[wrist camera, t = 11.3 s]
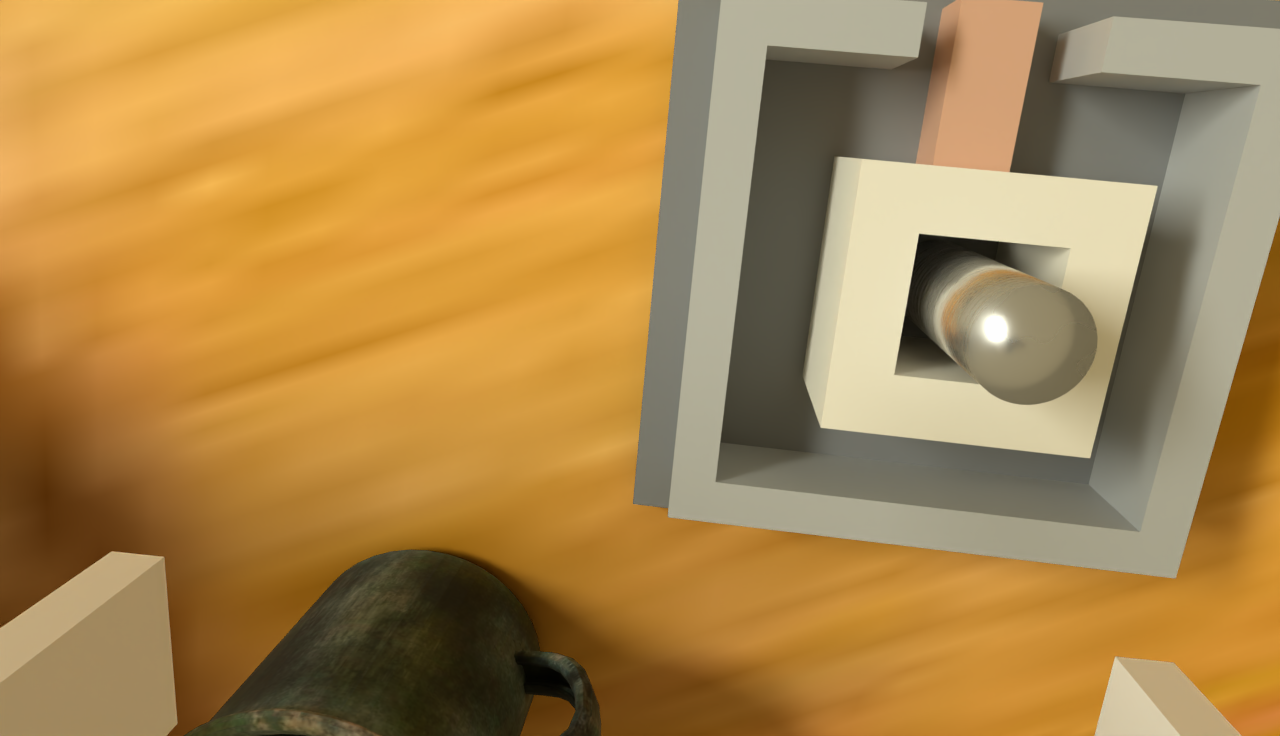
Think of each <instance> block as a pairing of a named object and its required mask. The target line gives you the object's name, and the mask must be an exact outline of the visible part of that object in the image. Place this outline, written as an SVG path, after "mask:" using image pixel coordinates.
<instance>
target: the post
mask: <svg viewBox="0 0 1280 736" xmlns="http://www.w3.org/2000/svg"><path fill="white" fill-rule="evenodd" d="M905 315H906V316H907V317H908V318H909V319H910V320H911V321H912V322H913V323H914V324H915V325H916V326H917V327H919V328H920V329H921V330H922V331H923V332H924V333H925V334H926V335H927V336H928V337H929V338H930V339H931V340H933V341H934V342H935V343H936V344H937V345H938V346H939V347H940V348H941V349H942V350H943V351H944V352H946V353H947V354H948V355H949V356H950V357H951V358H952V359H953V360H954V361H955V362H956V363H957V364H958V365H960V366H961V367H962V368H963V369H964V370H965V371H966V372H967V373H968V374H969V375H970V376H971V377H972V378H974V379H975V380H976V381H977V382H978V383H979V384H980V385H981V386H982V387H983V388H984V389H986V390H987V391H988V392H989V393H990V394H992V395H993V396H995V397H997V398H999V399H1001V400H1003V401H1006V402H1009V403H1013V404H1019V405H1035V404H1041V403H1045V402H1049V401H1052V400H1054V399H1056V398H1059V397H1061V396H1062V395H1064V394H1066V393H1067V392H1069V391H1070V390H1071V389H1073V388H1074V387H1075V386H1076V385H1077V384H1078V383H1079V382H1080V381H1081V380H1082V379H1083V378H1084V376H1085V375H1086V374H1087V372H1088V370H1089V369H1090V367H1091V365H1092V363H1093V361H1094V358H1095V354H1096V350H1097V339H1098V336H1097V328H1096V325H1095V321H1094V319H1093V317H1092V314H1091V313H1090V311H1089V310H1088V308H1087V307H1086V306H1085V305H1084V303H1083V302H1082V301H1081V300H1079V299H1078V298H1077V297H1076V296H1074V295H1073V294H1071V293H1070V292H1068V291H1065V290H1063V289H1061V288H1059V287H1056V286H1054V285H1051V284H1049V283H1047V282H1044V281H1042V280H1040V279H1037V278H1035V277H1032V276H1030V275H1028V274H1025V273H1023V272H1021V271H1018V270H1016V269H1013V268H1011V267H1009V266H1006V265H1004V264H1002V263H999V262H997V261H994V260H992V259H990V258H987V257H985V256H983V255H980V254H978V253H976V252H973V251H971V250H968V249H966V248H964V247H961V246H959V245H957V244H954V243H952V242H949V241H945V240H936V239H934V240H926V241H922V242H920V243H917V248H916V254H915V260H914V265H913V271H912V277H911V282H910V288H909V294H908V299H907V305H906V311H905Z"/></svg>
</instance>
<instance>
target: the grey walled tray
mask: <svg viewBox="0 0 1280 736" xmlns="http://www.w3.org/2000/svg"><path fill="white" fill-rule="evenodd" d="M954 1H956V0H679V3H678V14H677V25H676V36H675V47H674V58H673V69H672V80H671V91H670V102H669V113H668V124H667V135H666V146H665V157H664V168H663V179H662V190H661V201H660V212H659V223H658V234H657V245H656V256H655V267H654V278H653V290H652V301H651V312H650V323H649V334H648V345H647V356H646V367H645V378H644V389H643V400H642V411H641V422H640V433H639V444H638V455H637V466H636V477H635V488H634V499H633V504H638V505H647V506H655V507H663V508H668V517H670V518H679V519H687V520H695V521H703V522H712V523H720V524H728V525H737V526H745V527H753V528H761V529H770V530H778V531H786V532H795V533H803V534H811V535H820V536H828V537H836V538H844V539H853V540H861V541H869V542H878V543H886V544H894V545H902V546H911V547H919V548H927V549H936V550H944V551H952V552H960V553H969V554H977V555H985V556H994V557H1002V558H1010V559H1018V560H1027V561H1035V562H1043V563H1052V564H1060V565H1068V566H1076V567H1085V568H1093V569H1101V570H1110V571H1118V572H1126V573H1135V574H1143V575H1151V576H1159V577H1168V578H1176V576H1177V572H1178V569H1179V565H1180V562H1181V558H1182V555H1183V551H1184V548H1185V544H1186V541H1187V537H1188V534H1189V530H1190V527H1191V524H1192V520H1193V517H1194V513H1195V510H1196V506H1197V503H1198V499H1199V496H1200V492H1201V489H1202V485H1203V482H1204V478H1205V475H1206V471H1207V468H1208V464H1209V461H1210V457H1211V454H1212V450H1213V447H1214V443H1215V440H1216V436H1217V433H1218V430H1219V426H1220V423H1221V419H1222V416H1223V412H1224V409H1225V405H1226V402H1227V398H1228V395H1229V391H1230V388H1231V384H1232V381H1233V377H1234V374H1235V370H1236V367H1237V363H1238V360H1239V356H1240V353H1241V349H1242V346H1243V342H1244V339H1245V336H1246V332H1247V329H1248V325H1249V322H1250V318H1251V315H1252V311H1253V308H1254V304H1255V301H1256V297H1257V294H1258V290H1259V287H1260V283H1261V280H1262V276H1263V273H1264V269H1265V266H1266V262H1267V259H1268V255H1269V252H1270V248H1271V245H1272V242H1273V238H1274V235H1275V231H1276V228H1277V224H1278V221H1279V217H1280V1H1277V0H1016V1H1029V2H1042V3H1043V8H1042V13H1041V18H1040V23H1039V27H1038V32H1037V37H1036V42H1035V47H1034V52H1033V57H1032V62H1031V67H1030V72H1029V77H1028V82H1027V87H1026V92H1025V97H1024V102H1023V107H1022V112H1021V117H1020V122H1019V127H1018V132H1017V137H1016V142H1015V147H1014V152H1013V157H1012V162H1011V167H1010V172H1012V173H1023V174H1034V175H1045V176H1056V177H1067V178H1078V179H1088V180H1099V181H1110V182H1121V183H1132V184H1143V185H1154V186H1158V187H1157V191H1156V195H1155V199H1154V203H1153V207H1152V211H1151V215H1150V219H1149V223H1148V227H1147V231H1146V236H1145V240H1144V244H1143V248H1142V252H1141V256H1140V260H1139V264H1138V268H1137V272H1136V276H1135V280H1134V284H1133V288H1132V292H1131V296H1130V300H1129V304H1128V308H1127V312H1126V316H1125V320H1124V324H1123V328H1122V332H1121V336H1120V340H1119V344H1118V348H1117V352H1116V356H1115V360H1114V364H1113V368H1112V372H1111V376H1110V380H1109V384H1108V388H1107V392H1106V396H1105V400H1104V404H1103V408H1102V412H1101V416H1100V420H1099V424H1098V429H1097V433H1096V437H1095V441H1094V445H1093V449H1092V453H1091V457H1090V458H1082V457H1073V456H1064V455H1056V454H1047V453H1038V452H1029V451H1021V450H1012V449H1003V448H994V447H985V446H977V445H968V444H959V443H950V442H942V441H933V440H924V439H915V438H906V437H898V436H889V435H880V434H871V433H862V432H854V431H845V430H836V429H827V428H821V427H820V424H819V422H818V419H817V416H816V413H815V410H814V407H813V404H812V401H811V399H810V396H809V393H808V390H807V387H806V384H805V381H804V379H803V376H802V375H803V368H804V362H805V355H806V348H807V341H808V334H809V327H810V320H811V314H812V307H813V300H814V293H815V286H816V279H817V272H818V266H819V259H820V252H821V245H822V238H823V231H824V224H825V218H826V211H827V204H828V197H829V190H830V183H831V176H832V170H833V163H834V156H837V157H848V158H859V159H870V160H881V161H892V162H902V163H913V164H916V159H917V153H918V147H919V142H920V136H921V130H922V124H923V118H924V112H925V107H926V101H927V95H928V89H929V83H930V77H931V72H932V66H933V60H934V54H935V48H936V42H937V37H938V31H939V25H940V19H941V13H942V9H943V8H944V7H946V6H948V5H949V4H951V3H953V2H954ZM934 239H936V240H945V241H949V242H952V243H954V244H957V245H959V246H961V247H964V248H966V249H968V250H971V251H973V252H976V253H978V254H980V255H983V256H985V257H987V258H990V259H992V260H994V261H995V259H996V254H997V249H998V244H999V241H990V240H980V239H969V238H959V237H949V236H938V235H928V234H919V237H918V243H920V242H922V241H926V240H934ZM901 336H907V337H917V338H926V339H930V338H929V337H928V336H927V335H926V334H925V333H924V332H923V331H922V330H921V329H920V328H919V327H917V326H916V325H915V324H914V323H913V322H912V321H911V320H910V319H909V318H908V317H907V316H906V315H905V316H904V322H903V328H902V333H901Z"/></svg>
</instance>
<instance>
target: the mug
mask: <svg viewBox="0 0 1280 736" xmlns="http://www.w3.org/2000/svg"><path fill="white" fill-rule="evenodd" d="M534 695H544V696H552V697H559V698H562V699H564V700H567V701H569V702H570V703H571V704H572V706H573V707H574V708H575V714H574V716H573V719H572V721H571V723H570V726H569V728H568V729H567V730H566V731H565V732H564V733H562V734H561V735H560V736H601V718H600V710H599V704H598V701H597V699H596V696H595V693H594V690H593V688H592V685H591V683H590V680H589V678H588V676H587V674H586V671H585V669H584V668H583V667H582V666H581V665H580V664H578V663H577V662H576V661H575V660H574V659H573V658H570V657H567V656H564V655H561V654H558V653H552V652H541V651H540V648H539V643H538V638H537V634H536V632H535V629H534V626H533V624H532V621H531V619H530V618H529V616H528V614H527V612H526V611H525V609H524V607H523V606H522V604H521V603H520V602H519V601H518V599H517V598H516V597H515V596H514V595H513V593H512V592H511V591H510V590H509V589H508V588H507V587H506V586H505V585H504V584H503V583H502V582H500V581H499V580H498V579H497V578H496V577H495V576H493V575H492V574H490V573H489V572H487V571H486V570H484V569H483V568H481V567H479V566H477V565H475V564H473V563H471V562H469V561H467V560H465V559H462V558H458V557H455V556H452V555H449V554H444V553H439V552H433V551H427V550H402V551H392V552H388V553H384V554H380V555H376V556H373V557H371V558H368V559H366V560H364V561H361V562H359V563H357V564H356V565H354V566H353V567H351V568H350V569H348V570H347V571H345V572H344V573H343V574H342V575H341V576H340V577H338V578H337V579H336V580H335V581H334V582H333V583H332V584H331V585H330V586H329V588H328V589H327V590H326V591H325V592H324V593H323V594H322V595H321V597H320V598H319V599H318V600H317V601H316V602H315V603H314V604H313V606H312V607H311V608H310V609H309V610H308V611H307V612H306V613H305V615H304V616H303V617H302V618H301V619H300V620H299V621H298V622H297V624H296V625H295V626H294V627H293V628H292V629H291V630H290V631H289V633H288V634H287V635H286V636H285V637H284V638H283V639H282V640H281V641H280V643H279V644H278V645H277V646H276V647H275V648H274V649H273V650H272V652H271V653H270V654H269V655H268V656H267V657H266V658H265V659H264V661H263V662H262V663H261V664H260V665H259V666H258V667H257V668H256V670H255V671H254V672H253V673H252V674H251V675H250V676H249V677H248V679H247V680H246V681H245V682H244V683H243V684H242V685H241V686H240V688H239V689H238V690H237V691H236V692H235V693H234V694H233V695H232V697H231V698H230V699H229V700H228V701H227V702H226V703H225V704H224V706H223V707H222V708H221V709H220V710H219V711H218V712H217V713H216V714H215V716H214V717H213V718H212V719H211V720H210V721H209V722H208V723H205V724H203V725H200V726H199V727H197V728H195V729H194V730H192V731H190V732H189V733H187V734H186V735H184V736H520V734H521V731H522V728H523V725H524V723H525V720H526V717H527V714H528V711H529V708H530V705H531V702H532V699H533V696H534Z"/></svg>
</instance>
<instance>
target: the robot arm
mask: <svg viewBox="0 0 1280 736" xmlns="http://www.w3.org/2000/svg"><path fill="white" fill-rule="evenodd" d="M177 724H178V723H177V710H176V697H175V685H174V672H173V659H172V647H171V634H170V621H169V609H168V596H167V583H166V571H165V558H164V557H162V556H152V555H143V554H133V553H124V552H114V551H111V552H110V553H109V554H107V555H106V556H104V557H103V558H101V559H100V560H98V561H97V562H95V563H94V564H93V565H91V566H90V567H88V568H87V569H85V570H84V571H82V572H81V573H80V574H78V575H77V576H75V577H74V578H72V579H71V580H69V581H68V582H66V583H65V584H64V585H62V586H61V587H59V588H58V589H56V590H55V591H53V592H52V593H51V594H49V595H48V596H46V597H45V598H43V599H42V600H40V601H39V602H37V603H36V604H35V605H33V606H32V607H30V608H29V609H27V610H26V611H24V612H23V613H22V614H20V615H19V616H17V617H16V618H14V619H13V620H11V621H10V622H8V623H7V624H6V625H4V626H3V627H1V628H0V736H167V735H168V734H169V732H170V731H171V730H172V729H173V728H174V727H175V726H176V725H177ZM1095 736H1241V735H1240V734H1239V732H1238V731H1237V730H1236V729H1235V728H1234V727H1233V726H1232V725H1231V724H1230V723H1229V722H1228V721H1227V720H1226V718H1225V717H1224V716H1223V715H1222V714H1221V713H1220V712H1219V711H1218V710H1217V709H1216V708H1215V707H1214V706H1213V704H1212V703H1211V702H1210V701H1209V700H1208V699H1207V698H1206V697H1205V696H1204V695H1203V694H1202V693H1201V691H1200V690H1199V689H1198V688H1197V687H1196V686H1195V685H1194V684H1193V683H1192V682H1191V681H1190V680H1189V679H1188V677H1187V676H1186V675H1185V674H1184V673H1183V672H1182V671H1181V670H1180V669H1179V668H1178V667H1177V666H1176V665H1175V663H1172V662H1163V661H1153V660H1144V659H1134V658H1125V657H1115V659H1114V663H1113V667H1112V671H1111V675H1110V679H1109V682H1108V686H1107V690H1106V694H1105V698H1104V702H1103V706H1102V709H1101V713H1100V717H1099V721H1098V725H1097V729H1096V733H1095Z"/></svg>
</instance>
